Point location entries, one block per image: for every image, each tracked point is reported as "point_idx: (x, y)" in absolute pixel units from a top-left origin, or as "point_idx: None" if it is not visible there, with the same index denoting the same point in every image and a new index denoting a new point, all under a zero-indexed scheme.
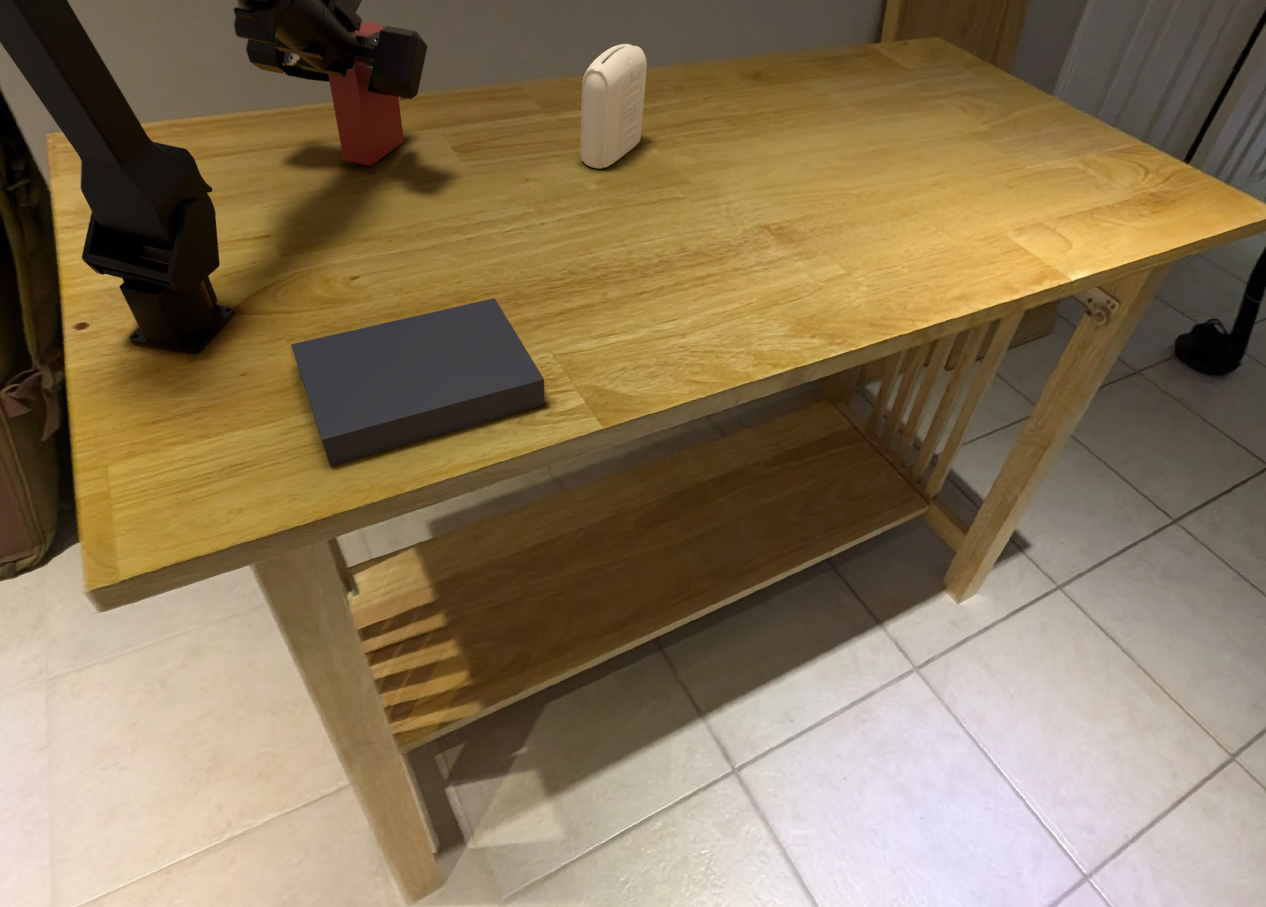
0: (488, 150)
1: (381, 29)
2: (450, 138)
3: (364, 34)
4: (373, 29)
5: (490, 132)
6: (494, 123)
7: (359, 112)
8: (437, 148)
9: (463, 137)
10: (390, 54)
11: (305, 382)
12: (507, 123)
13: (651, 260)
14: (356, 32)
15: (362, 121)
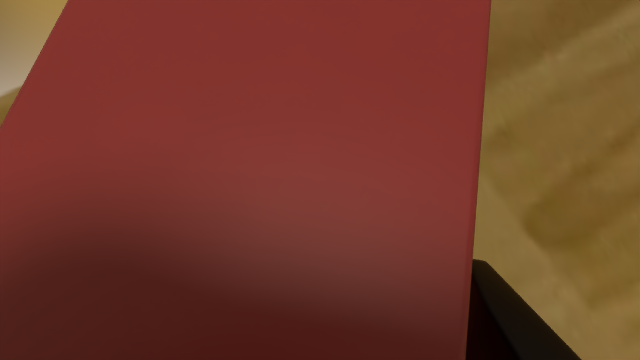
0: (636, 213)
1: (477, 2)
2: (495, 166)
3: (347, 306)
4: (380, 33)
5: (593, 102)
6: (581, 49)
7: None
8: (481, 238)
9: (530, 150)
10: None
11: None
12: (616, 41)
13: None
14: (189, 244)
15: None
